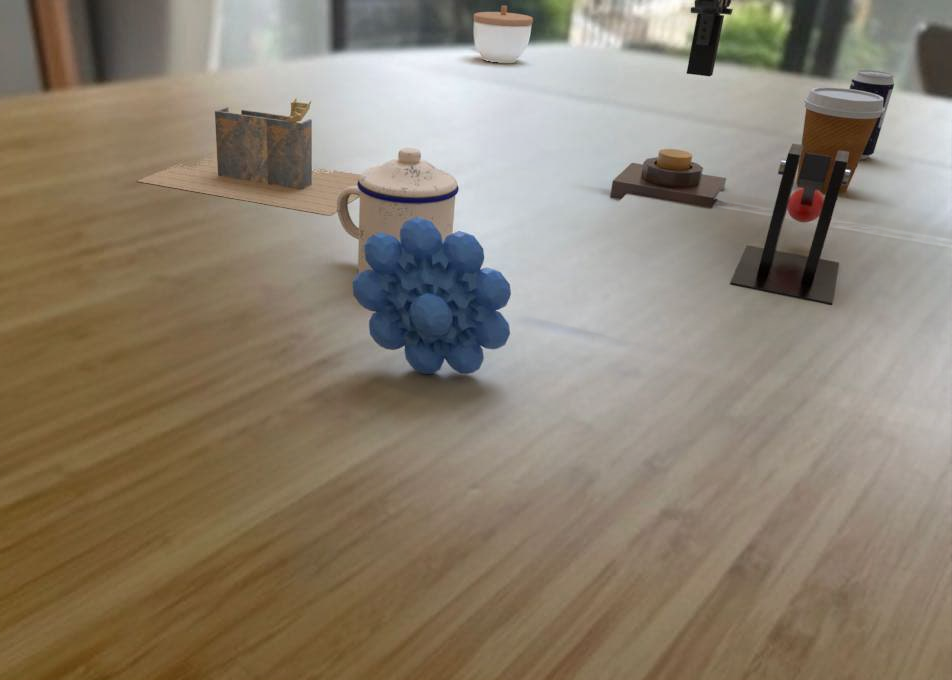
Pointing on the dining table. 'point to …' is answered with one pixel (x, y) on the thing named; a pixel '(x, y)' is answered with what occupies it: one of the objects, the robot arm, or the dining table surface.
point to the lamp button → (674, 159)
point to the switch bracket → (792, 270)
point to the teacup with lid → (399, 199)
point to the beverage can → (881, 86)
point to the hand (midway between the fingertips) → (699, 74)
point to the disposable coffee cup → (839, 125)
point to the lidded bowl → (501, 35)
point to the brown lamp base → (668, 183)
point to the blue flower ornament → (433, 297)
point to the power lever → (809, 189)
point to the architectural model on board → (263, 163)
